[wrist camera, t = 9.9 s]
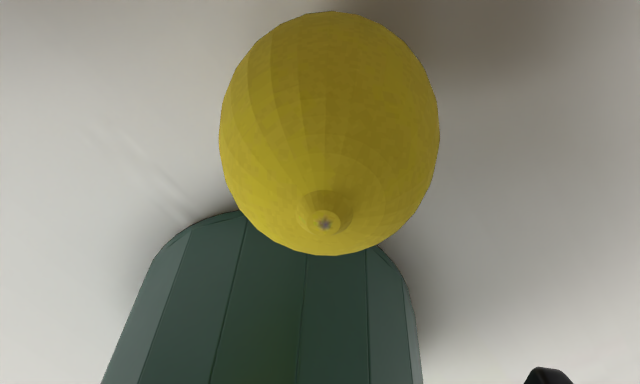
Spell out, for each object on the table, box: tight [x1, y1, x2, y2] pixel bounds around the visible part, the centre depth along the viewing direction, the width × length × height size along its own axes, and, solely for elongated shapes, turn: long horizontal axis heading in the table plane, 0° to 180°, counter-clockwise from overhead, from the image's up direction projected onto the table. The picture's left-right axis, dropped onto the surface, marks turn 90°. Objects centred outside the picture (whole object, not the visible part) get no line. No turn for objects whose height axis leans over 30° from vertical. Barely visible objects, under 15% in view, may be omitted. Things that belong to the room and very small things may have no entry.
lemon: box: [219, 11, 440, 256], centre depth 15 cm, size 6×6×8 cm
